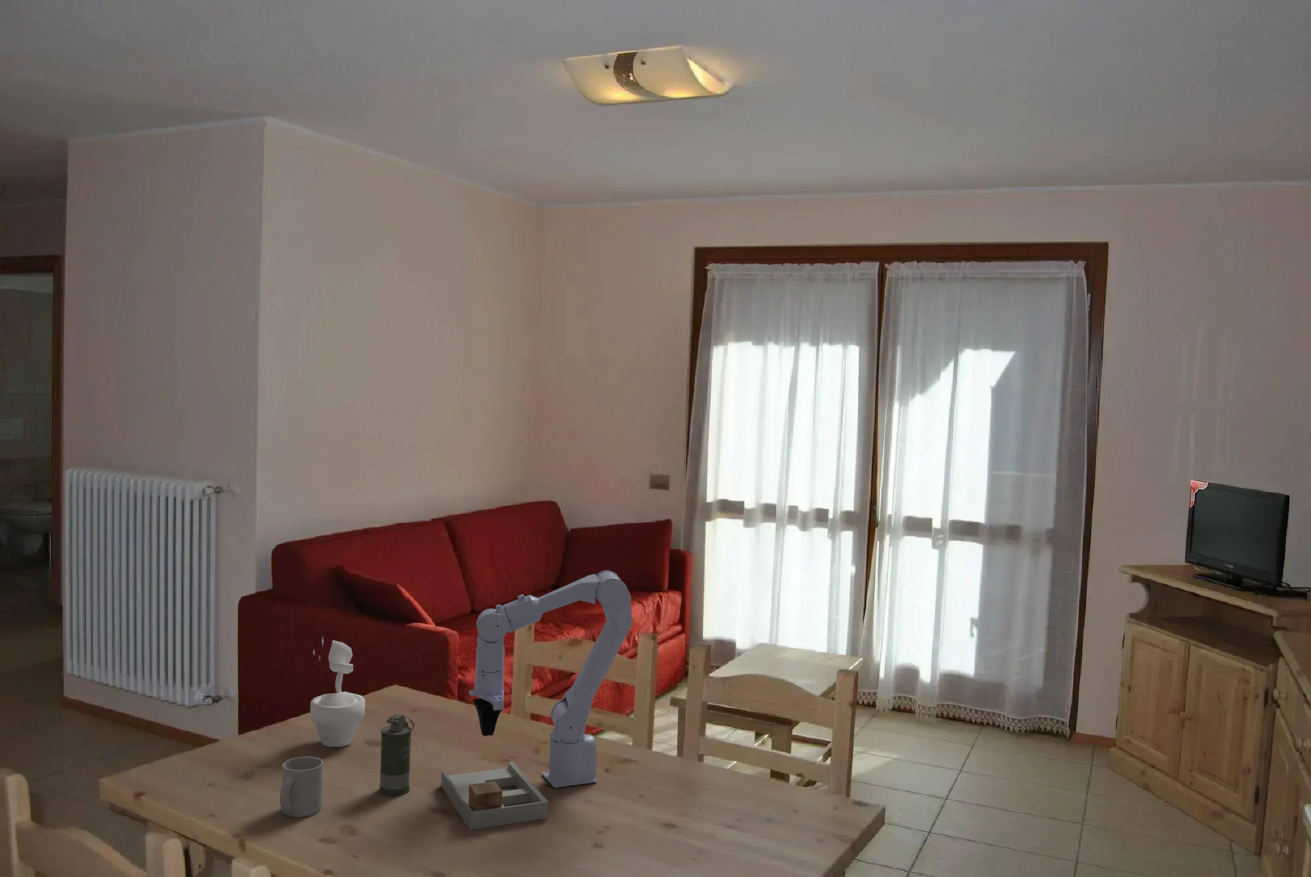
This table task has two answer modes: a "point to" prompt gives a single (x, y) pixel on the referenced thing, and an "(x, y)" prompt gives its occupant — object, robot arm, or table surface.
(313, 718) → the potted plant
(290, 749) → the table surface
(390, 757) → the grenade
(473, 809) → the block
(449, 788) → the tray
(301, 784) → the cup
